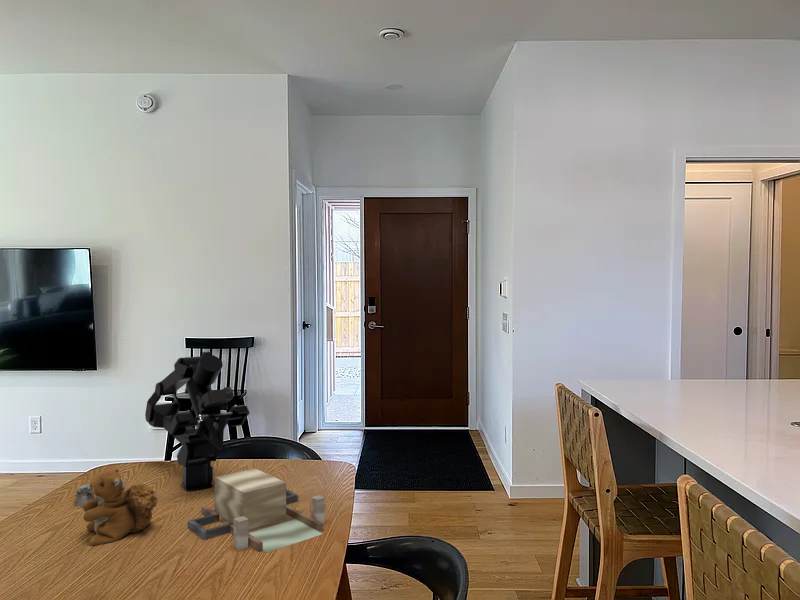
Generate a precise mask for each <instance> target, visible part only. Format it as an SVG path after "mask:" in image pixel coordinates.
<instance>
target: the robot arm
mask: <svg viewBox="0 0 800 600" xmlns="http://www.w3.org/2000/svg"><path fill="white" fill-rule="evenodd" d="M173 365H174V366H173V367H174V370H173V371H171V372H170V373H169V374H168V375H167V376H166V377H165V378H163V379H162V380H161V381H159V382H157V383H156V384H155V386H154V387H155V388H154V392H153V393H152V395H150V397H149V398H148V400H147V402H146V408H145V415H144V416H145V421H146V422H147V423H148V424H149V426H151V427H153V428H161V429H162V428H163V429H164V430H166V432H168V433H169V434H170V436H172V437H173V438H174V439H175V440H176V441H177V442H179V444H181V447H180V449H179V450H178V452H177V454H176V459H177V464H178V465H180V466H182V467H183V468H182V469H183V470H182V475H183V477H182V482H181V486H182V485H183V486H182V487H183V488H184V490H185V491H186V492H190V491H196V490H201V489H207V488H212V487H213V482H214V479H213V478H214V468H213V465H212V462H216V461H217V459H218V453H219V450H223V447H224V432H225V429H226V426H229V427H230V428H234V427H239V426H242V425H244V423H245V421H246V420H247V417H249V414H250V409H249V408H248V406H247V405H245V404H241V405H233V406H231V407H230V409H229V411H228V412H221V411H223V410H224V408H225V406H224V405H225V404H228V402H229V401H231V400H233V399H234V391H233V389H232V387H231V386H227V387H225V386H224V387H223V388H222V389H217V390H216V389H215V390H213V389H212V385H213V384H214V383H216V380H217V378H218V377H219V374H220V372H221V370H222V369H223V366H224V365H223V360H222V359H220V358H219V357H218V356H216V355H213V354H212V353H211V351H202V352H201V355H200V356H189V357H188V356H187V357H179V358H178V359H177V360H176V361H175V363H174V364H173ZM184 386H185V389H184V394H185V395H186V394H187V395H188V396H189V399H190V403H191V407H190V409H191V411H190V412H188V411H187V412H182V413H180V408H181V401H179V400H180V399H179V398H178V396H177V395H178V390H179V389H181V388H182V387H184ZM163 396H172V397H173V402H170V403H169V402H168V403H161V404H160V403H159V404H158V402H159V401H160V399H161V398H162V397H163ZM192 412H194V414H195V416H194V415H193V413H192Z"/></svg>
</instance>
